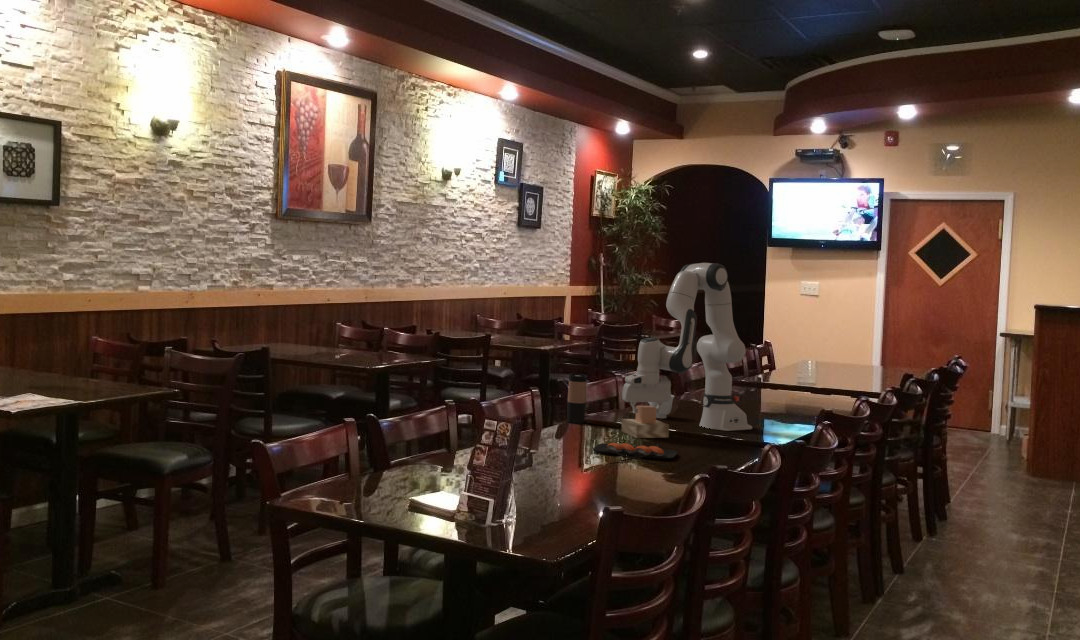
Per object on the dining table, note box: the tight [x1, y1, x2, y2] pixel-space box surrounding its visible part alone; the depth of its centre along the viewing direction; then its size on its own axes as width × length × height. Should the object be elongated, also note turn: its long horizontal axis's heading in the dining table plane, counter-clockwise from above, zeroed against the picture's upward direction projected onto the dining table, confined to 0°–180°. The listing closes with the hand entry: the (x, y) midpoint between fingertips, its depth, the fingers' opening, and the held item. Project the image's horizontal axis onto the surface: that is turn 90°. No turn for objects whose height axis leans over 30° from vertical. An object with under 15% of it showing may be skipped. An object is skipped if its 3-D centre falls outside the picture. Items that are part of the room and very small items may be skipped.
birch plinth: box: [620, 418, 670, 439], centre depth 378 cm, size 14×14×5 cm
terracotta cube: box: [634, 405, 657, 423], centre depth 377 cm, size 6×6×6 cm
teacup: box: [647, 394, 675, 419], centre depth 424 cm, size 12×15×10 cm
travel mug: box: [566, 373, 588, 425], centre depth 398 cm, size 8×8×20 cm
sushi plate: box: [592, 442, 678, 464], centre depth 329 cm, size 29×30×4 cm
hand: (645, 413), depth 377 cm, fingers open, 8 cm apart
